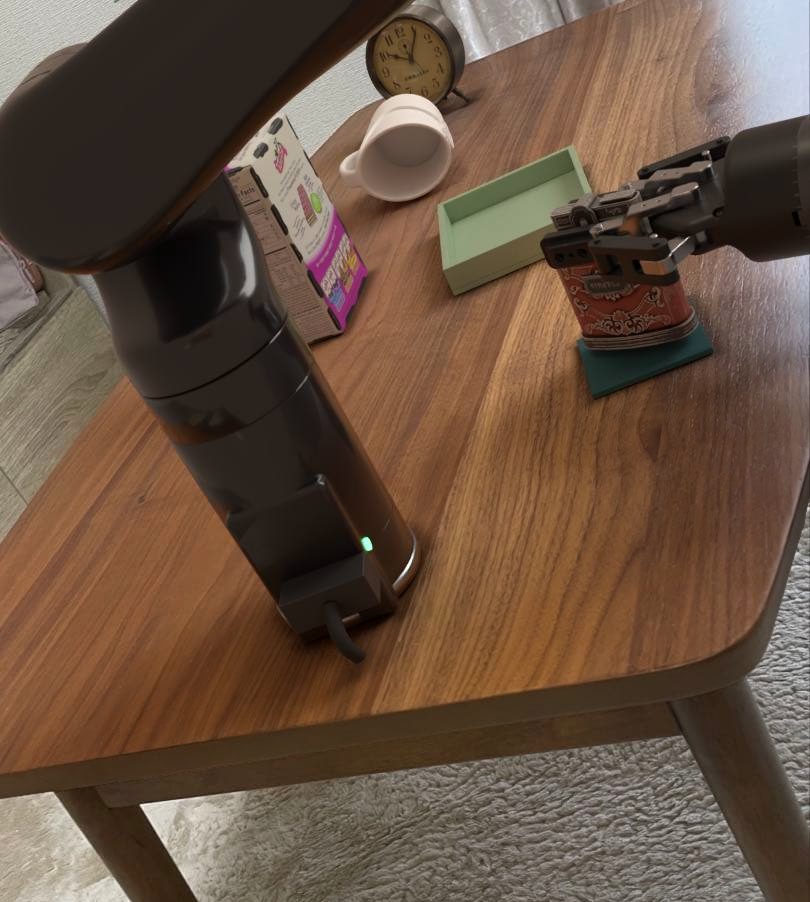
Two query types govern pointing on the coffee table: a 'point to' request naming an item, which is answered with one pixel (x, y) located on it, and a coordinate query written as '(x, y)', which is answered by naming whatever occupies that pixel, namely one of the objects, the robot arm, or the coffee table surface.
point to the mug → (401, 151)
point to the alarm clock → (417, 56)
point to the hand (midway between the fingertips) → (559, 235)
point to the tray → (506, 219)
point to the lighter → (619, 288)
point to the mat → (640, 361)
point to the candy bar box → (298, 230)
